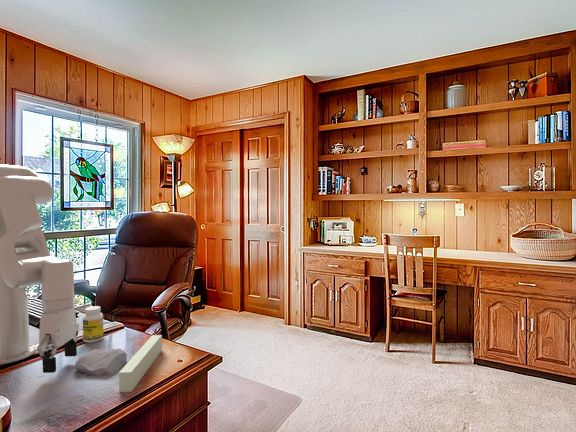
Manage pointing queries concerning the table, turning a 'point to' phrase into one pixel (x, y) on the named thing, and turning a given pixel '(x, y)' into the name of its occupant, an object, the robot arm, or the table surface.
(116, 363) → the grey rock
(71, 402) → the table surface
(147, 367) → the board
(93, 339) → the pill bottle
